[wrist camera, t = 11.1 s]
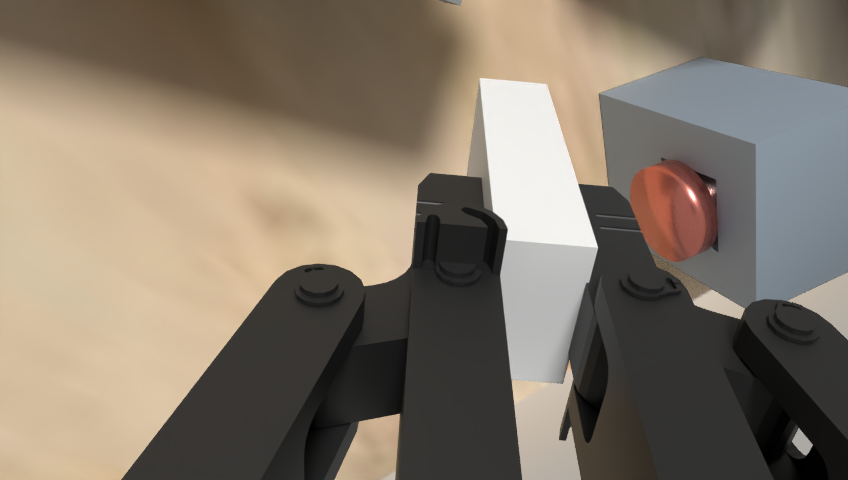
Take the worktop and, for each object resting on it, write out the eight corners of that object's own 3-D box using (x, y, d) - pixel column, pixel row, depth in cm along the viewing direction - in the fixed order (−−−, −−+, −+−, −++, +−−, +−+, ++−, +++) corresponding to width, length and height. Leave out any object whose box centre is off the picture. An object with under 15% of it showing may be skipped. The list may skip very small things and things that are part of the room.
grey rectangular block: (613, 231, 50) (756, 315, 39) (599, 93, 46) (755, 144, 35) (706, 192, 52) (868, 262, 41) (701, 56, 48) (881, 94, 36)
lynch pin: (633, 240, 44) (697, 277, 40) (626, 156, 42) (692, 185, 37) (828, 159, 48) (907, 183, 43) (832, 77, 46) (917, 94, 41)
